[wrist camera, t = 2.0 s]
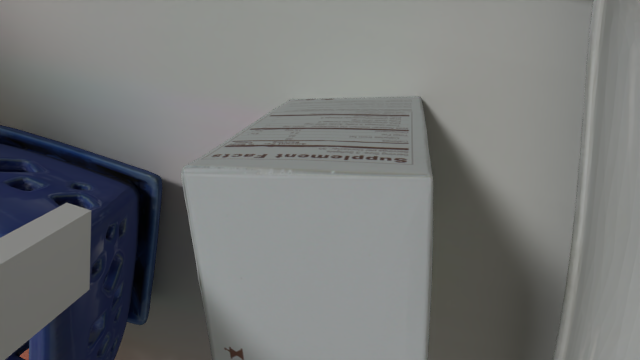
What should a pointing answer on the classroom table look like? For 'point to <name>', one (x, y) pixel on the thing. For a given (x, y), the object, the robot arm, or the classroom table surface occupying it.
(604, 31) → the square plate
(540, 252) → the classroom table surface
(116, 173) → the flower pot
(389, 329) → the supplement box
